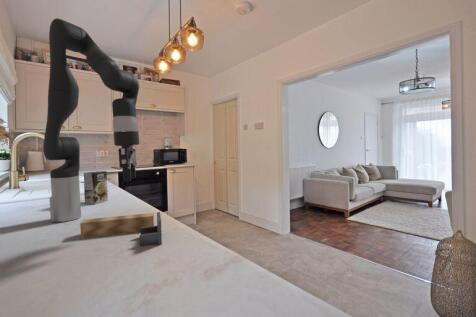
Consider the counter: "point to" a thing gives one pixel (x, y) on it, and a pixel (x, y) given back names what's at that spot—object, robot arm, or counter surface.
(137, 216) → the rail
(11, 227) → the counter surface
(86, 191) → the coffee box
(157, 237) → the cup bracket
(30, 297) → the counter surface
